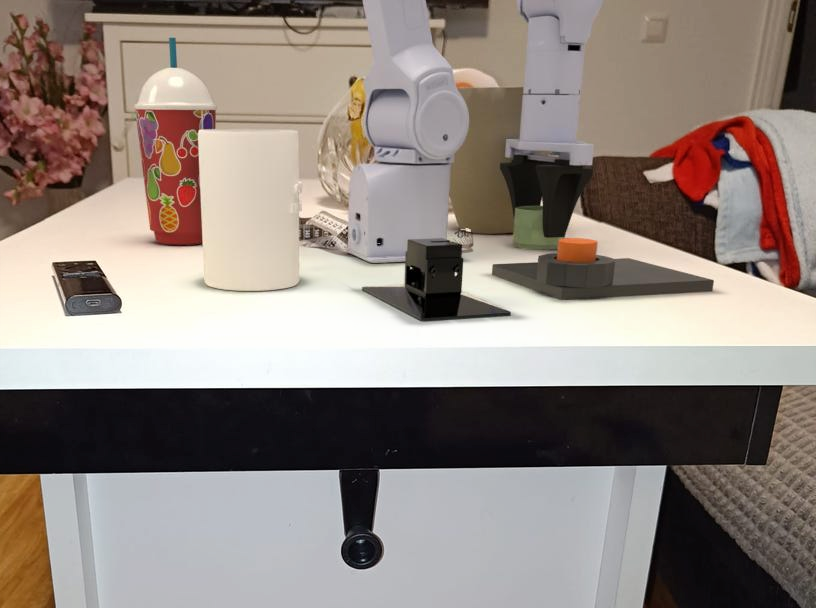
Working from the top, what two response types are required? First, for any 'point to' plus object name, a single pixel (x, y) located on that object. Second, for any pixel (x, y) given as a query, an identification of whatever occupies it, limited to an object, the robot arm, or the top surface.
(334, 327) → the top surface
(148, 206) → the smoothie
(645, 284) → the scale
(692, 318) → the top surface
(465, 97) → the plant pot
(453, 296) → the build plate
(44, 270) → the top surface
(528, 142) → the robot arm
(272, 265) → the mug
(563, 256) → the button
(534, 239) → the bowl
